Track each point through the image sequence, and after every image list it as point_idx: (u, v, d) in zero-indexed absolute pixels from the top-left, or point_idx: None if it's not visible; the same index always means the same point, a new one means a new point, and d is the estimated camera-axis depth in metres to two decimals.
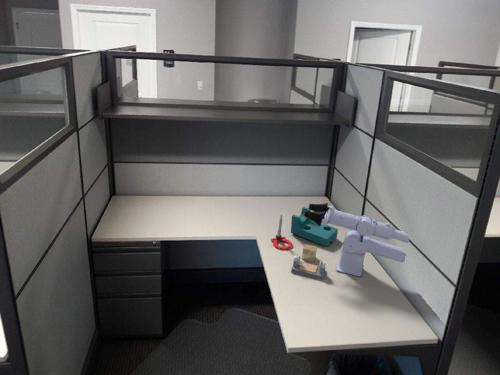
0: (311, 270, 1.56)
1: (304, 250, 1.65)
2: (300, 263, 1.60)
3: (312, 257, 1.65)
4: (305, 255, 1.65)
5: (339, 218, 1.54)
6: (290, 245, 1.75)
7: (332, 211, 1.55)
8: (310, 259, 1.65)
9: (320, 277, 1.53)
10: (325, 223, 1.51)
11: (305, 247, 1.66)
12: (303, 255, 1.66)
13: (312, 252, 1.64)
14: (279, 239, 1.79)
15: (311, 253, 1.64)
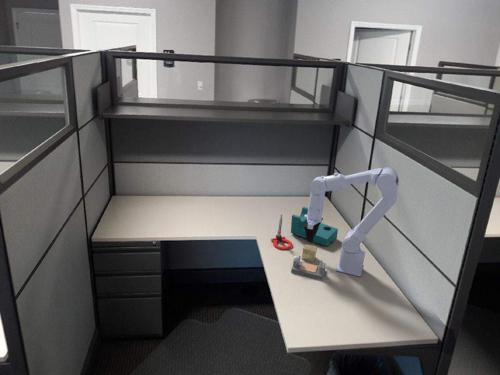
0: (311, 270, 1.56)
1: (304, 250, 1.65)
2: (300, 263, 1.60)
3: (312, 257, 1.65)
4: (305, 255, 1.65)
5: (311, 210, 1.58)
6: (290, 245, 1.75)
7: (307, 215, 1.60)
8: (310, 259, 1.65)
9: (320, 277, 1.53)
10: (310, 225, 1.55)
11: (305, 247, 1.66)
12: (303, 255, 1.66)
13: (312, 252, 1.64)
14: (279, 239, 1.79)
15: (311, 253, 1.64)
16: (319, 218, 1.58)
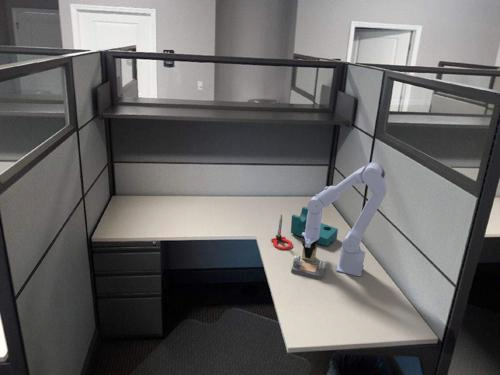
0: (311, 270, 1.56)
1: None
2: (300, 263, 1.60)
3: (312, 257, 1.65)
4: None
5: (308, 228, 1.60)
6: (290, 245, 1.75)
7: (305, 233, 1.63)
8: (310, 259, 1.65)
9: (320, 277, 1.53)
10: (308, 244, 1.57)
11: None
12: (303, 255, 1.66)
13: None
14: (279, 239, 1.79)
15: None
16: (316, 236, 1.61)
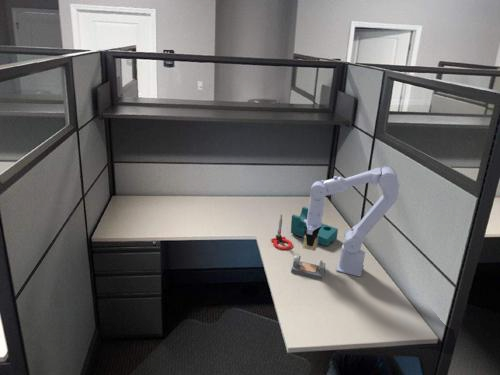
0: (311, 270, 1.56)
1: (305, 238, 1.60)
2: (300, 263, 1.60)
3: (313, 246, 1.60)
4: (306, 244, 1.61)
5: (310, 215, 1.56)
6: (290, 245, 1.75)
7: (307, 220, 1.59)
8: (312, 248, 1.61)
9: (320, 277, 1.53)
10: (310, 231, 1.53)
11: None
12: (304, 244, 1.61)
13: None
14: (279, 239, 1.79)
15: None
16: (319, 223, 1.56)
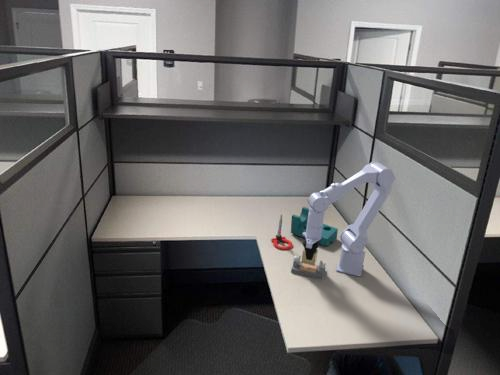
0: (311, 270, 1.56)
1: (304, 253, 1.54)
2: (300, 263, 1.60)
3: (313, 260, 1.54)
4: (305, 259, 1.54)
5: (310, 228, 1.49)
6: (290, 245, 1.75)
7: (306, 233, 1.52)
8: (311, 263, 1.54)
9: (320, 277, 1.53)
10: (309, 244, 1.46)
11: None
12: (303, 258, 1.55)
13: (313, 255, 1.53)
14: (279, 239, 1.79)
15: None
16: (318, 236, 1.50)
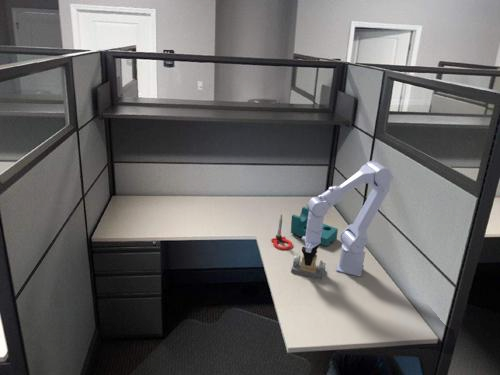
0: None
1: (303, 259, 1.55)
2: (300, 263, 1.60)
3: (312, 266, 1.55)
4: None
5: (309, 232, 1.50)
6: (290, 245, 1.75)
7: (305, 237, 1.53)
8: (310, 268, 1.55)
9: (320, 277, 1.53)
10: (308, 249, 1.47)
11: None
12: (302, 264, 1.56)
13: (312, 261, 1.54)
14: (279, 239, 1.79)
15: None
16: (318, 240, 1.51)
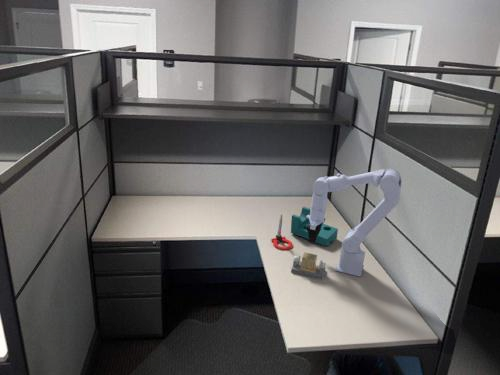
0: None
1: (303, 259, 1.55)
2: (300, 263, 1.60)
3: (312, 266, 1.55)
4: (305, 264, 1.55)
5: (313, 210, 1.57)
6: (290, 245, 1.75)
7: (309, 216, 1.60)
8: (310, 268, 1.55)
9: (320, 277, 1.53)
10: (313, 226, 1.54)
11: (305, 255, 1.56)
12: (302, 264, 1.56)
13: (312, 261, 1.54)
14: (279, 239, 1.79)
15: (311, 262, 1.54)
16: (322, 219, 1.58)
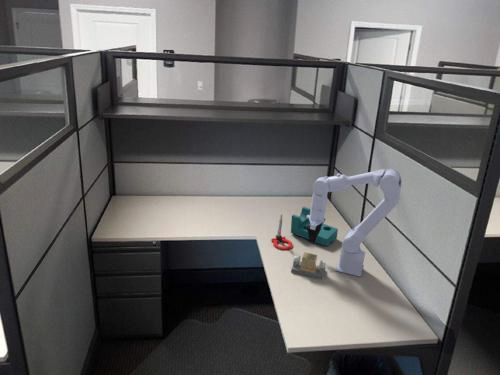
0: None
1: (303, 259, 1.55)
2: (300, 263, 1.60)
3: (312, 266, 1.55)
4: (305, 264, 1.55)
5: (313, 210, 1.57)
6: (290, 245, 1.75)
7: (309, 216, 1.60)
8: (310, 268, 1.55)
9: (320, 277, 1.53)
10: (313, 226, 1.54)
11: (305, 255, 1.56)
12: (302, 264, 1.56)
13: (312, 261, 1.54)
14: (279, 239, 1.79)
15: (311, 262, 1.54)
16: (322, 219, 1.58)
